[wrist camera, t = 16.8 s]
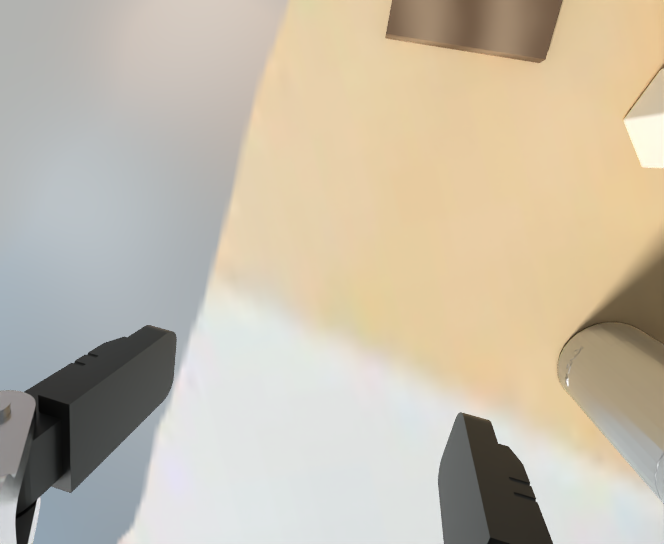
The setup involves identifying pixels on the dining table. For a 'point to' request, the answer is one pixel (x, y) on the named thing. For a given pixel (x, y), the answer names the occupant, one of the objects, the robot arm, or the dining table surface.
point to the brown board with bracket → (478, 25)
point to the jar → (648, 124)
